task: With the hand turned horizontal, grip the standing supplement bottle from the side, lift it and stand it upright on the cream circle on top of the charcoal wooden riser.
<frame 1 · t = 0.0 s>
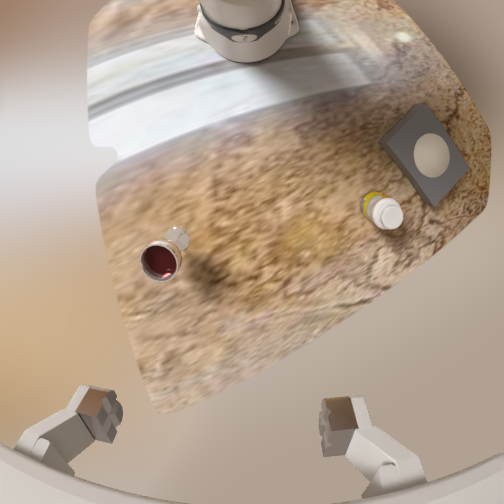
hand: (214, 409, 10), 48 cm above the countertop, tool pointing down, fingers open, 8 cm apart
riser: (422, 153, 51), on the countertop
wineglass: (177, 238, 59), on the countertop
supplement bottle: (372, 203, 55), on the countertop
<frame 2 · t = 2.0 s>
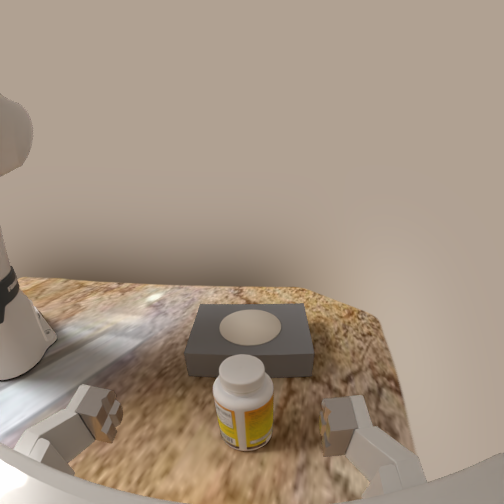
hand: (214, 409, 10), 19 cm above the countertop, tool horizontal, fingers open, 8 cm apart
riser: (251, 349, 43), on the countertop
supplement bottle: (246, 433, 29), on the countertop
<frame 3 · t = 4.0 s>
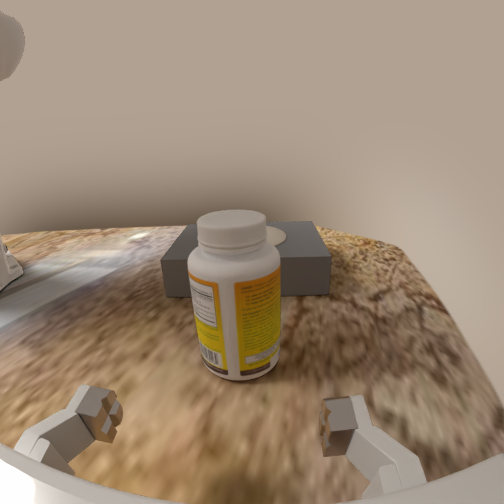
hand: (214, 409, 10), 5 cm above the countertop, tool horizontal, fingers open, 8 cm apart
riser: (248, 270, 35), on the countertop
supplement bottle: (240, 359, 21), on the countertop
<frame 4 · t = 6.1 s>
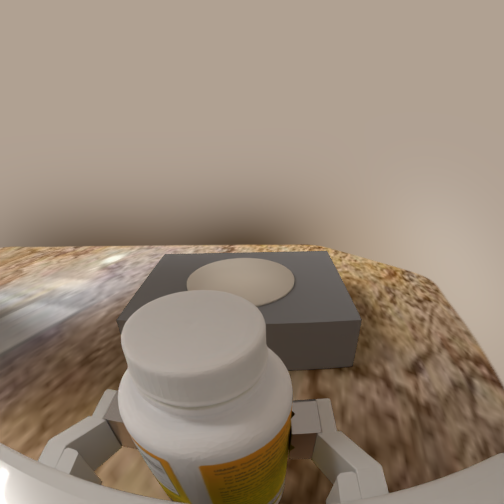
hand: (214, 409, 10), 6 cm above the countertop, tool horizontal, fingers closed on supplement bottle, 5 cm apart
riser: (242, 322, 26), on the countertop
supplement bottle: (226, 487, 12), on the countertop, touching gripper
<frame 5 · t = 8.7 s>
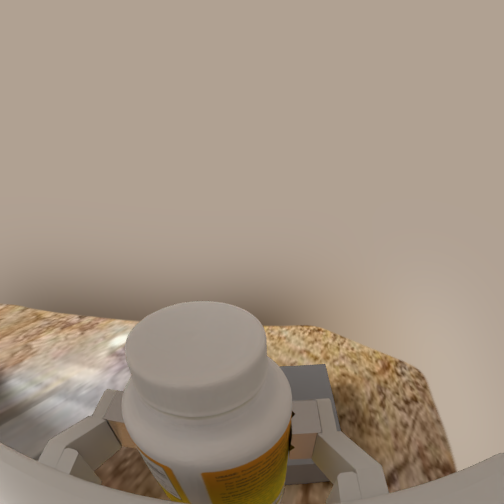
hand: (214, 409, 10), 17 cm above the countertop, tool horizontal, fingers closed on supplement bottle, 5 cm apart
riser: (247, 434, 26), on the countertop
supplement bottle: (227, 491, 12), point 11 cm above the countertop, touching gripper
when the fingers open (11 cm above the countertop, at t = 11.1 s): supplement bottle moves 1 cm, resting on riser.
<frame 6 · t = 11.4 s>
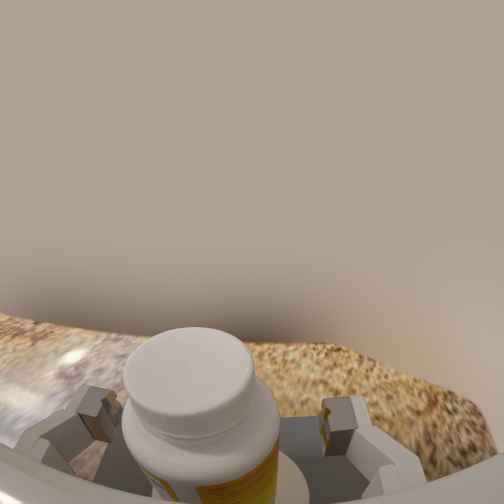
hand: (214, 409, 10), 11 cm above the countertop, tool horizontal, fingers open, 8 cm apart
supplement bottle: (222, 497, 12), point 4 cm above the countertop, touching riser
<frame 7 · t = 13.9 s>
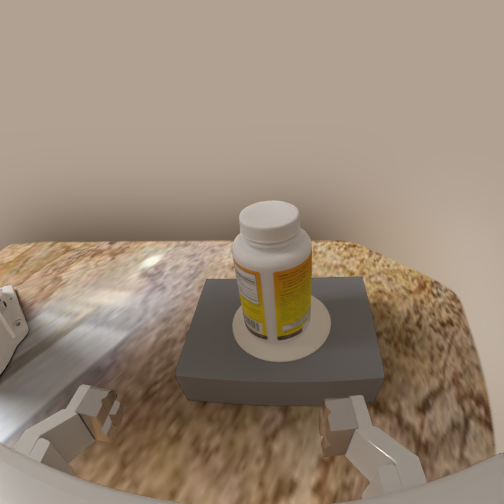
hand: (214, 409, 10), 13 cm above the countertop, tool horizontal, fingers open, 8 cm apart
riser: (282, 350, 28), on the countertop
supplement bottle: (277, 323, 26), point 4 cm above the countertop, touching riser
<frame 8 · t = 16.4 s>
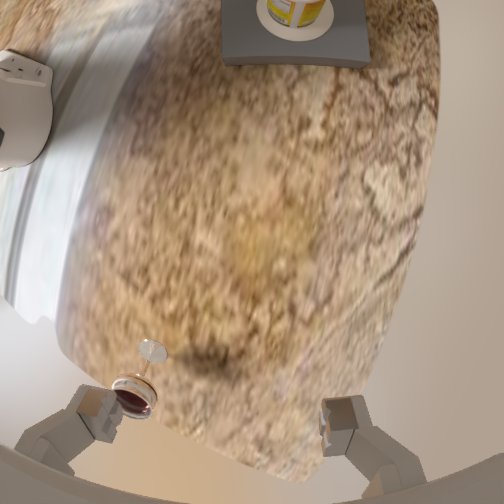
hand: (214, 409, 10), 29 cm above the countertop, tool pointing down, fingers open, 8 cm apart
riser: (292, 21, 28), on the countertop
wineglass: (153, 351, 46), on the countertop
supplement bottle: (292, 9, 25), point 4 cm above the countertop, touching riser
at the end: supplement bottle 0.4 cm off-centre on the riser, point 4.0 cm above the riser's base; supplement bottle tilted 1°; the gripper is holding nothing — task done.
